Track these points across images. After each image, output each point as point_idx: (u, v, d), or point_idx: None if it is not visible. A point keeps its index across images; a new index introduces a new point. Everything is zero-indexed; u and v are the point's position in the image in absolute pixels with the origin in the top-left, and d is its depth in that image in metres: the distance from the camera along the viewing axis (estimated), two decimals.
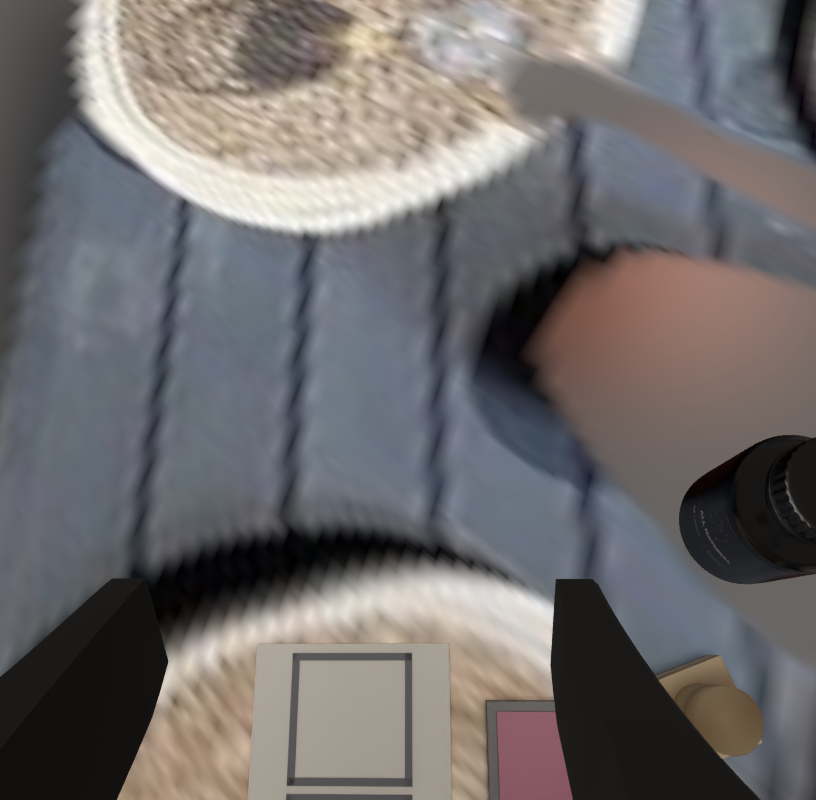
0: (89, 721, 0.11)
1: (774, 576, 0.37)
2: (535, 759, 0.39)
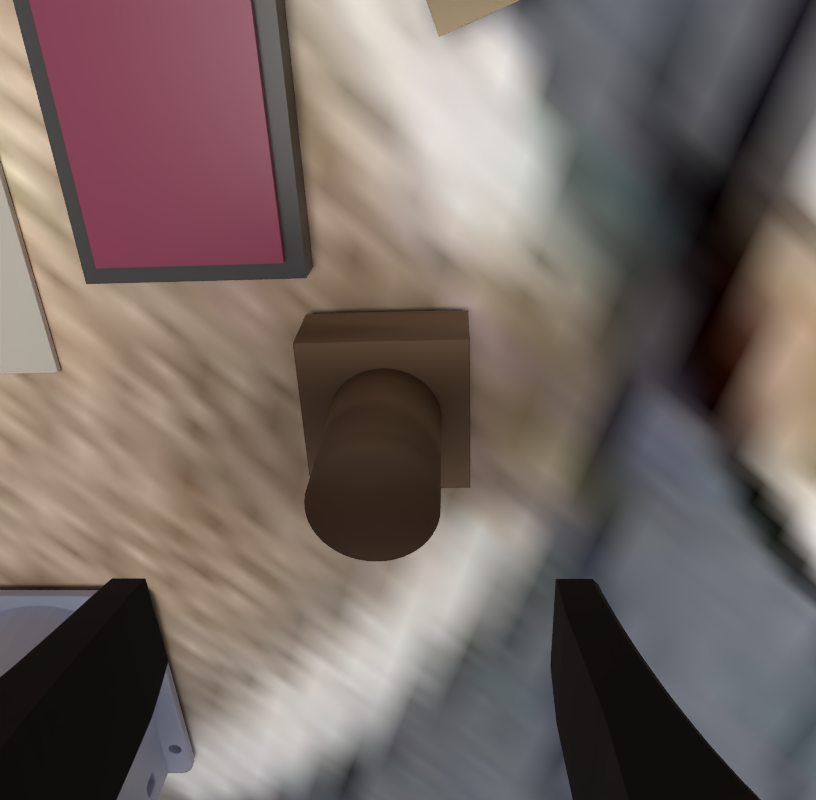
0: (89, 720, 0.11)
1: None
2: (118, 22, 0.17)
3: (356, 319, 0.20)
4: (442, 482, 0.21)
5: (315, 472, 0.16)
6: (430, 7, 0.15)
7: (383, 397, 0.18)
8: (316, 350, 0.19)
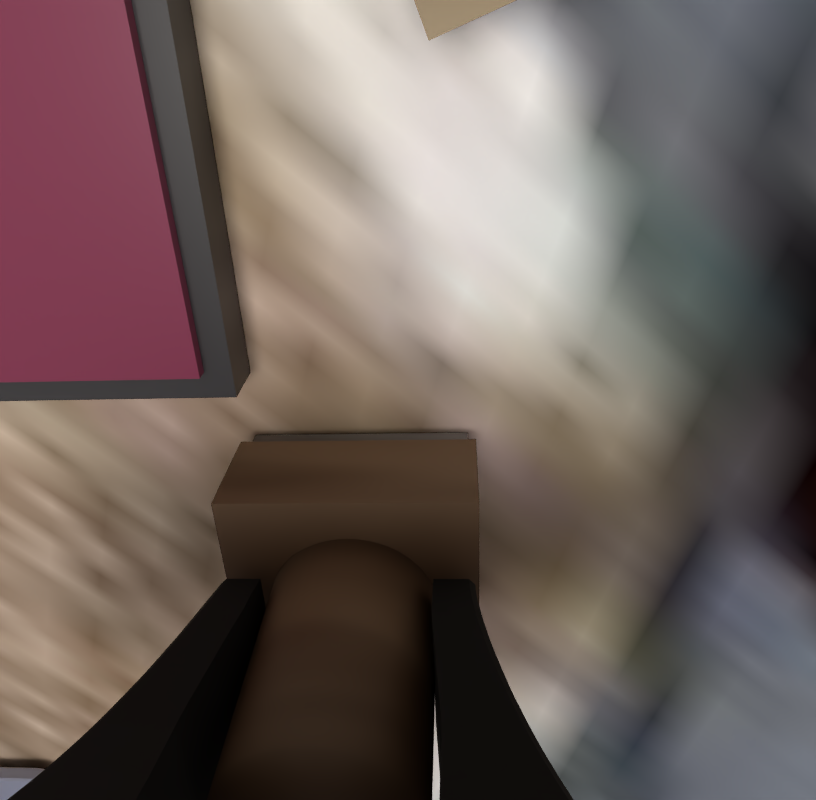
0: (222, 723, 0.11)
1: None
2: None
3: (312, 453, 0.14)
4: None
5: (222, 770, 0.10)
6: None
7: (344, 606, 0.11)
8: (246, 513, 0.13)
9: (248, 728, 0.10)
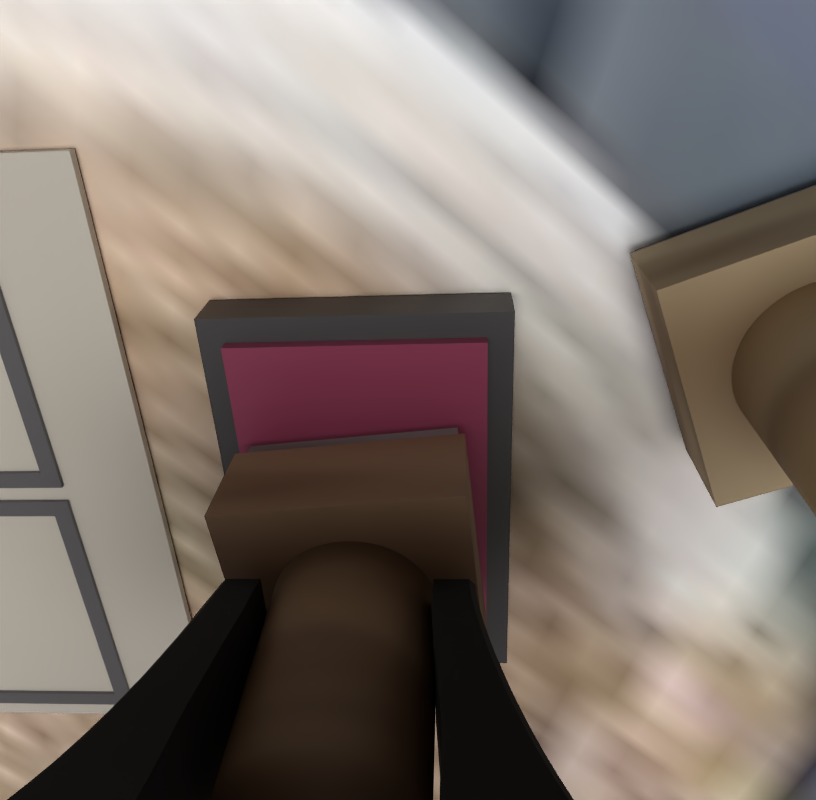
0: (222, 723, 0.11)
1: None
2: None
3: (304, 459, 0.14)
4: None
5: (220, 775, 0.10)
6: (710, 481, 0.13)
7: (336, 607, 0.11)
8: (239, 523, 0.13)
9: (244, 733, 0.10)
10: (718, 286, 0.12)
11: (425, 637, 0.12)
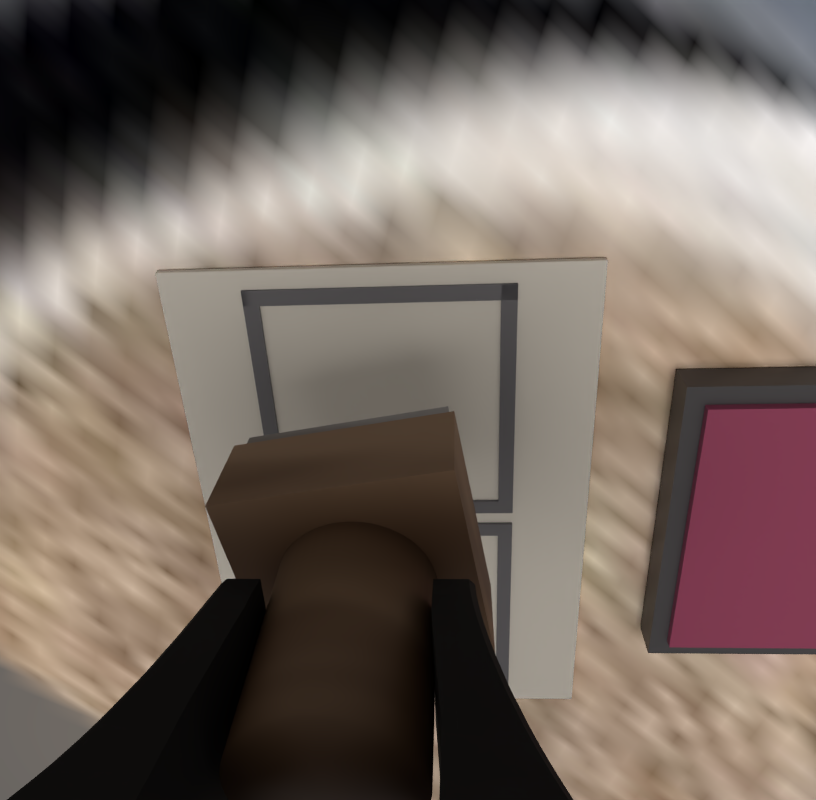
0: (222, 723, 0.11)
1: None
2: (771, 487, 0.19)
3: (299, 446, 0.14)
4: None
5: (226, 747, 0.10)
6: None
7: (333, 584, 0.12)
8: (239, 510, 0.13)
9: (247, 706, 0.10)
10: None
11: (422, 609, 0.12)
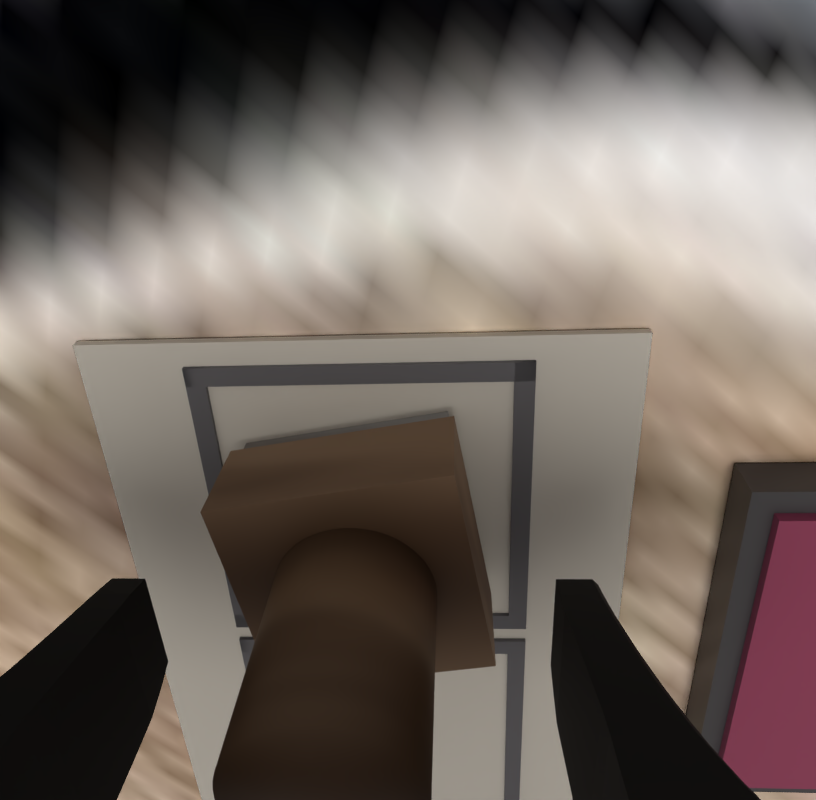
0: (88, 721, 0.11)
1: None
2: None
3: (297, 452, 0.14)
4: (454, 663, 0.14)
5: (219, 759, 0.10)
6: None
7: (330, 592, 0.12)
8: (235, 516, 0.13)
9: (241, 717, 0.10)
10: None
11: (421, 617, 0.12)
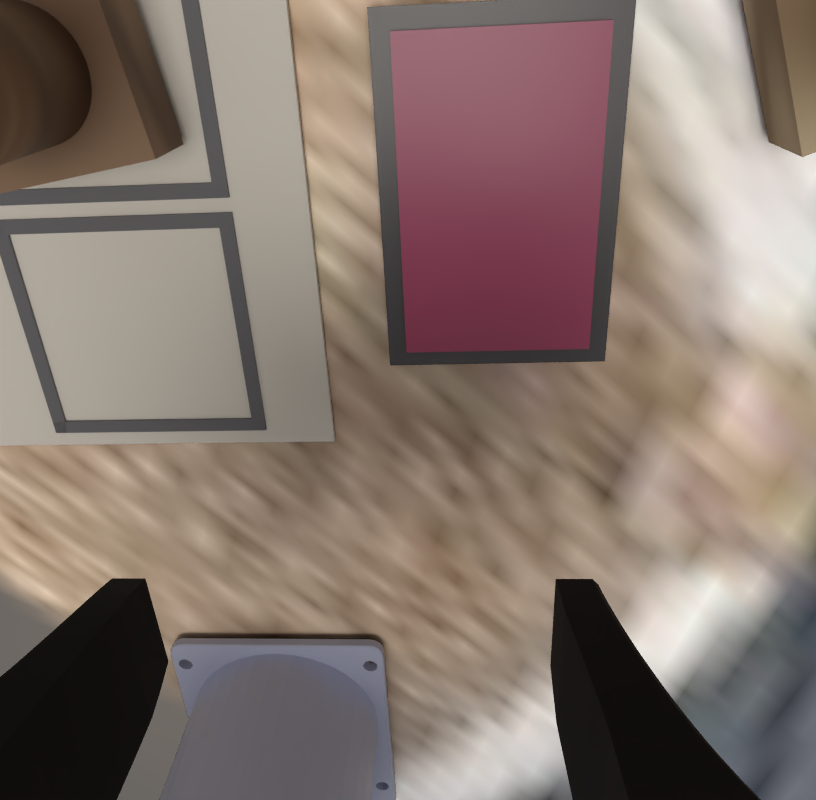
0: (89, 721, 0.11)
1: None
2: (475, 135, 0.18)
3: None
4: (121, 158, 0.17)
5: None
6: (799, 131, 0.16)
7: None
8: None
9: None
10: None
11: (40, 38, 0.15)
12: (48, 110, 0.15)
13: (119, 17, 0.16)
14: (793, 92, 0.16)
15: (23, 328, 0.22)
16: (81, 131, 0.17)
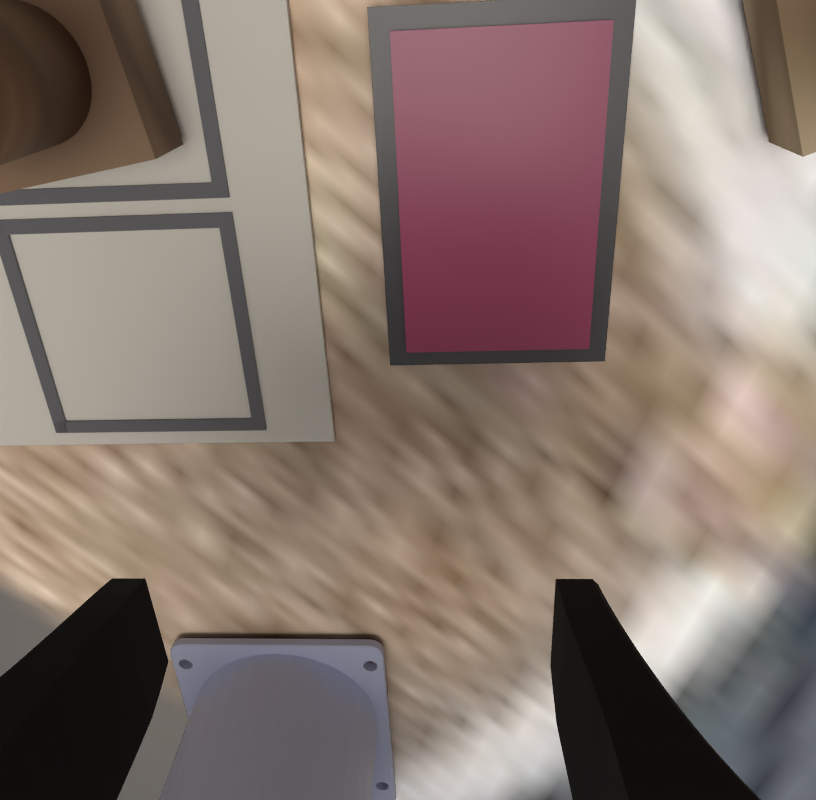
0: (89, 721, 0.11)
1: None
2: (475, 135, 0.18)
3: None
4: (121, 158, 0.17)
5: None
6: (799, 130, 0.16)
7: None
8: None
9: None
10: None
11: (40, 38, 0.15)
12: (48, 110, 0.15)
13: (119, 17, 0.16)
14: (793, 91, 0.16)
15: (23, 328, 0.22)
16: (81, 131, 0.17)
